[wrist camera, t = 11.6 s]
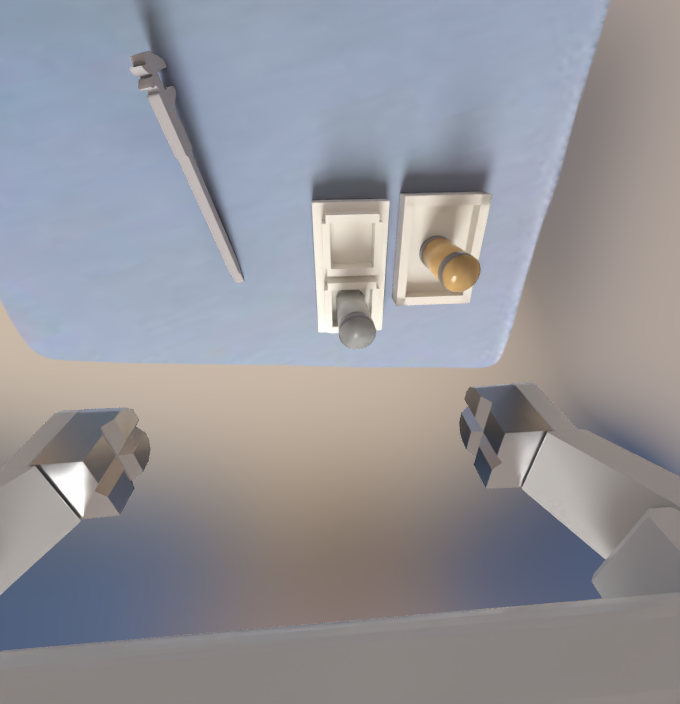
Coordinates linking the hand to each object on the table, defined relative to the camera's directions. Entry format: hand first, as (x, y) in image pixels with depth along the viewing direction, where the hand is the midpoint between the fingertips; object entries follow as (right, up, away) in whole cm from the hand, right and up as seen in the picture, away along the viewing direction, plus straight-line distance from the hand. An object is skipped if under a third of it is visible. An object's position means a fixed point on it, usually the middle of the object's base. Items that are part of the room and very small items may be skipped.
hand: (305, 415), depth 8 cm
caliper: (-13, +19, +26) cm, 35 cm away
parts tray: (+12, +14, +30) cm, 35 cm away
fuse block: (+2, +12, +31) cm, 33 cm away
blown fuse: (+12, +13, +30) cm, 35 cm away
